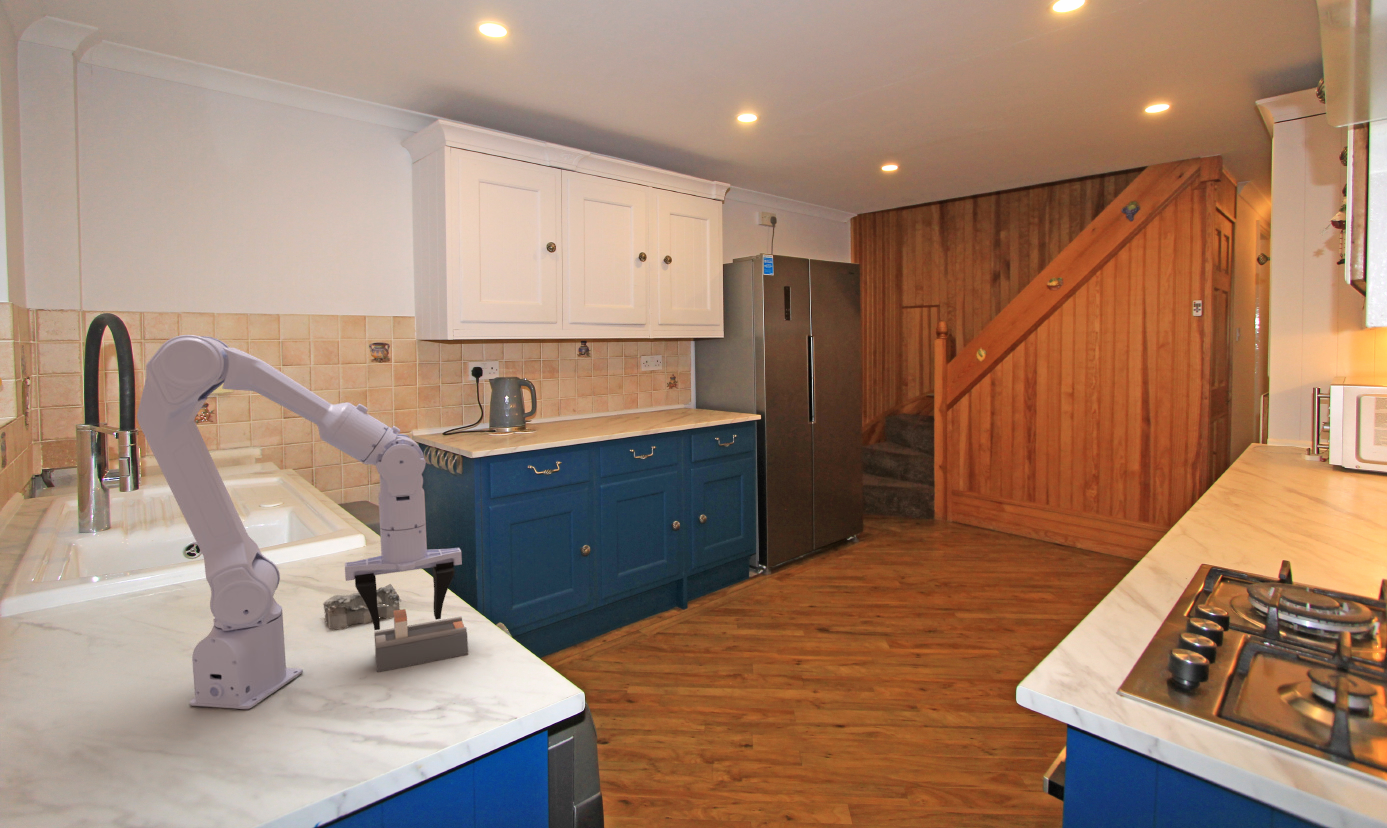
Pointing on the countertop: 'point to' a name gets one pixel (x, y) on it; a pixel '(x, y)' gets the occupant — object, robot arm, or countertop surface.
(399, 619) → the breaker handle
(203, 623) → the countertop surface
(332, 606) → the egg carton
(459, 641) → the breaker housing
